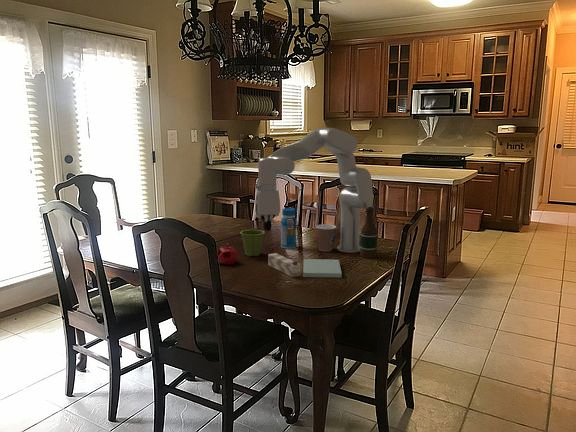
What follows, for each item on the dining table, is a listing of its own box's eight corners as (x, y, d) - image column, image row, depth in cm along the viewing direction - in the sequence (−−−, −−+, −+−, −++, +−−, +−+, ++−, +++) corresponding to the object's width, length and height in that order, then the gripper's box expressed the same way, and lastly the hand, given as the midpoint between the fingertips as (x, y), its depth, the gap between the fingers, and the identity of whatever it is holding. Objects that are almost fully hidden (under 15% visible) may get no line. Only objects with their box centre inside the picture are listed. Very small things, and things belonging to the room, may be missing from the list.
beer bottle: (368, 259, 223) (370, 209, 218) (356, 256, 229) (358, 207, 224) (379, 257, 227) (381, 207, 223) (368, 253, 233) (369, 205, 229)
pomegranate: (227, 258, 225) (227, 239, 223) (243, 262, 219) (242, 242, 217) (212, 263, 217) (211, 243, 216) (227, 267, 211) (226, 247, 209)
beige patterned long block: (300, 275, 199) (300, 261, 198) (292, 277, 197) (292, 263, 196) (275, 263, 216) (275, 251, 215) (268, 265, 214) (268, 252, 212)
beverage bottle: (277, 247, 244) (277, 209, 240) (285, 244, 251) (285, 207, 247) (292, 249, 240) (292, 211, 236) (299, 246, 247) (299, 208, 243)
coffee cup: (334, 252, 235) (335, 229, 232) (314, 251, 237) (314, 228, 234) (336, 247, 245) (337, 224, 242) (317, 246, 247) (317, 223, 244)
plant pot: (268, 252, 235) (267, 230, 233) (260, 258, 224) (260, 235, 222) (245, 250, 239) (245, 228, 236) (236, 256, 227) (236, 234, 225)
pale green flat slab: (303, 262, 218) (303, 259, 217) (338, 263, 217) (338, 259, 217) (303, 276, 198) (303, 272, 198) (341, 277, 197) (341, 273, 197)
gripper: (254, 189, 192) (255, 233, 195) (287, 187, 199) (287, 230, 202) (247, 187, 198) (247, 230, 202) (279, 185, 205) (278, 227, 209)
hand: (267, 230), depth 202 cm, fingers closed
